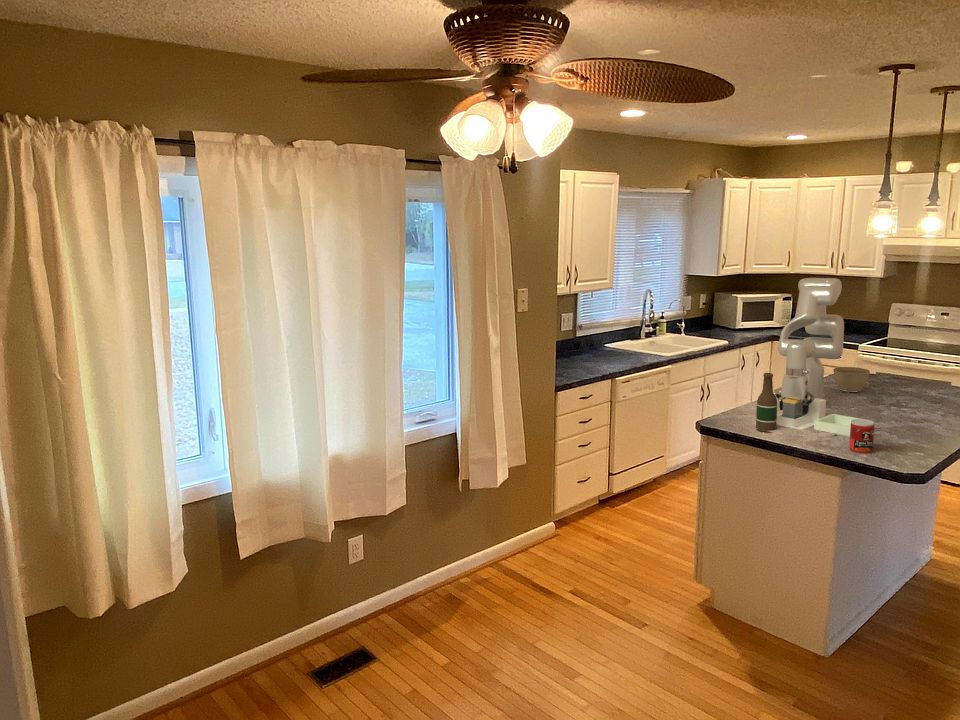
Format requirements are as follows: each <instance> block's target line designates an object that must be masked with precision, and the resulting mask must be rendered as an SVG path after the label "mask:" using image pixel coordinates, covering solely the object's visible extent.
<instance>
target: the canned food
mask: <svg viewBox="0 0 960 720" xmlns="http://www.w3.org/2000/svg"><path fill="white" fill-rule="evenodd" d="M875 426H876V425H875V422H874V421H873V420H871V419H866V418H860V419H854V420H851V428H850V439H849V447H848V448H849V449H850V451H851V452H853V453H857V454H871V453H872V452H873V451H874V450H873V449H874V441H875V440H874V438H875Z"/></svg>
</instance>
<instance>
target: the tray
mask: <svg viewBox="0 0 960 720" xmlns="http://www.w3.org/2000/svg"><path fill="white" fill-rule="evenodd" d="M854 419H861V418H859V417H854V416H849V415H842V414H838V413H837V414H836V413H831V414H828V415H825V417H823V418H820V419H818V420H815V422H814V425H813V430H817V431H821V432H825V433H830V434H831V433H832V434H833V436H836V437H839V438H844V439H849V440H850V428H851V420H854Z"/></svg>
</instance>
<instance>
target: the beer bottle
mask: <svg viewBox="0 0 960 720" xmlns="http://www.w3.org/2000/svg"><path fill="white" fill-rule="evenodd" d="M762 377H763V383H762V391H761V393H760V394H759V396H758V397H757V400H756V401H757V402H756V412H755V413H756V415H755V417H756V418H755V430H756V431H757V430H758V432H759V433H763V432H764V434H769V433H770V434H773V433H774V432H773V431H775V430H777V425H776V421H777V415H778V398H777V397H776V394H775V392H774V389H773V388H774V385H773V377H774V373H772V372H765V373H763V374H762Z"/></svg>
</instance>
